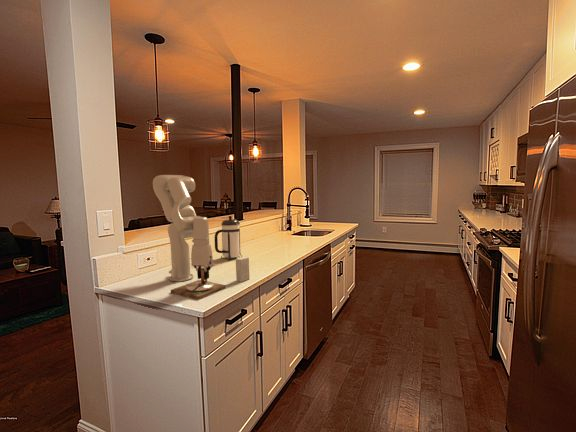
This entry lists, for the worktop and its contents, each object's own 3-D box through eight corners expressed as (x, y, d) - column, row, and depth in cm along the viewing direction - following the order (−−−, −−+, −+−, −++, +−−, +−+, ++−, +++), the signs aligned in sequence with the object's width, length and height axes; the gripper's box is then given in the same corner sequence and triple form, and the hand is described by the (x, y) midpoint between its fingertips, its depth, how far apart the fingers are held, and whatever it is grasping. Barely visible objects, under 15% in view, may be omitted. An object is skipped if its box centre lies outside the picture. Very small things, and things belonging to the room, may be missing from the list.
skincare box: (244, 277, 173) (243, 256, 172) (249, 279, 171) (249, 257, 170) (236, 280, 169) (235, 258, 168) (241, 281, 166) (240, 259, 165)
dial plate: (170, 292, 150) (170, 289, 150) (198, 282, 166) (198, 279, 166) (199, 299, 141) (198, 296, 141) (226, 288, 156) (226, 284, 156)
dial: (193, 282, 160) (192, 267, 159) (217, 283, 158) (217, 267, 157) (179, 292, 145) (178, 275, 144) (206, 293, 143) (205, 276, 143)
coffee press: (223, 255, 231) (222, 214, 228) (244, 255, 228) (243, 214, 225) (215, 261, 213) (213, 217, 211) (237, 261, 211) (236, 217, 208)
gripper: (183, 242, 155) (185, 279, 156) (210, 244, 149) (212, 282, 150) (193, 240, 162) (195, 275, 163) (219, 241, 156) (221, 277, 157)
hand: (203, 278), depth 157 cm, fingers closed on dial, 3 cm apart
